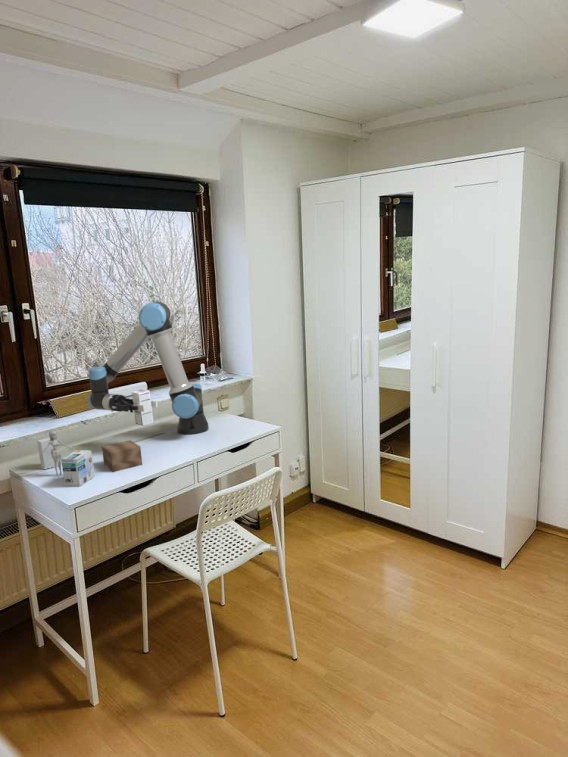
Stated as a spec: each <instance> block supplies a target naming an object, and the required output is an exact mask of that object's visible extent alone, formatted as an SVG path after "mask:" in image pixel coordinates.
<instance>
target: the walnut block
mask: <svg viewBox="0 0 568 757" xmlns="http://www.w3.org/2000/svg"><path fill="white" fill-rule="evenodd" d="M101 452H102V453H101V454H102V459H103V465H104V466H105V468H108V470H110V471H111V472H112V473H116V472H119V471H123V470H128V469H131V468H135V467H139V466H143V457H142V449H141V446H140V445H138V444H137V443H135V442H134V441H132V440H125V441H121V442H116V443H111V444H107V445H103V446H101Z"/></svg>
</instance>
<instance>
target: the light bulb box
mask: <svg viewBox="0 0 568 757" xmlns="http://www.w3.org/2000/svg"><path fill="white" fill-rule="evenodd" d="M60 462H61V469H62V474H63V480H64V486H65V487H66V486H67V487H81V486H82V485H84V484H86V483H87V482H89V481H90V480H92V479H93V478H94V477H96V476H95V470H94V463H93V462H94V460H93V454H92V450H87V449H86V450H81V449H76V450H74V451H73V452H71V453H69V454H68V455H65V456H64V457H61V459H60Z"/></svg>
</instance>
